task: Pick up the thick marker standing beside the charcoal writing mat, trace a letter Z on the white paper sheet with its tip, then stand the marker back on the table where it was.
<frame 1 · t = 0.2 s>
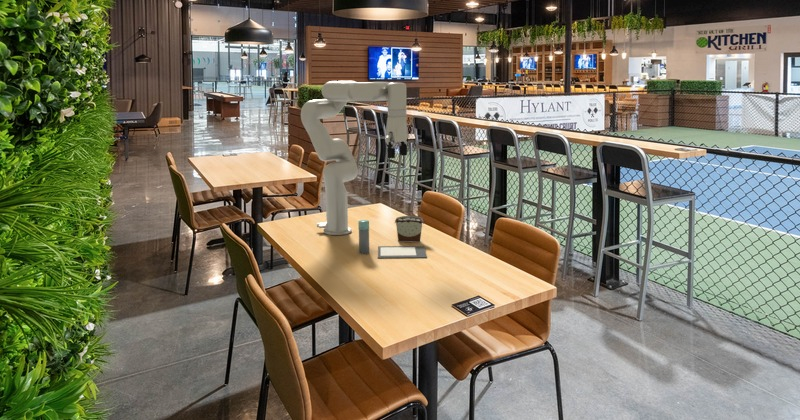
hand: (397, 156, 237), 37 cm above the table, tool pointing down, fingers open, 9 cm apart
writing mat: (401, 252, 232), on the table
food container: (409, 240, 250), on the table
marker: (364, 252, 232), on the table
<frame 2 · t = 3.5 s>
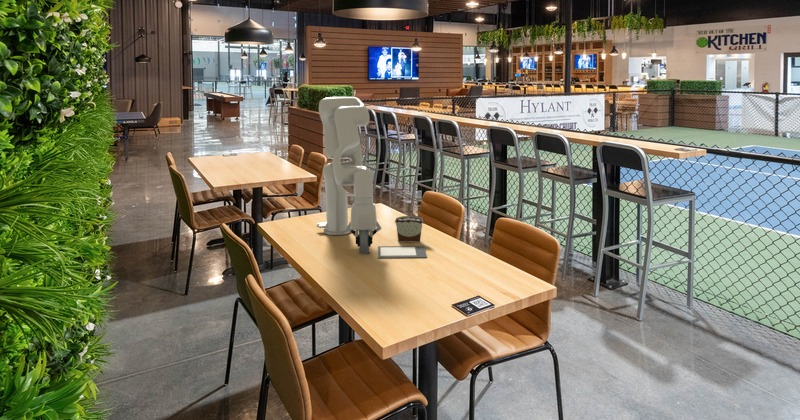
hand: (364, 245, 231), 3 cm above the table, tool pointing down, fingers closed on marker, 3 cm apart
marker: (364, 252, 232), on the table, touching gripper
everything else where it was.
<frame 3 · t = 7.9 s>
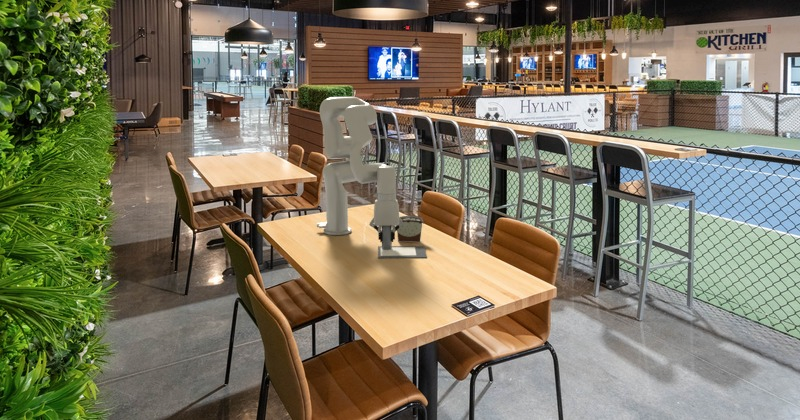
hand: (386, 240, 235), 4 cm above the table, tool pointing down, fingers closed on marker, 3 cm apart
marker: (386, 248, 236), point 1 cm above the table, touching gripper
everything else where it was.
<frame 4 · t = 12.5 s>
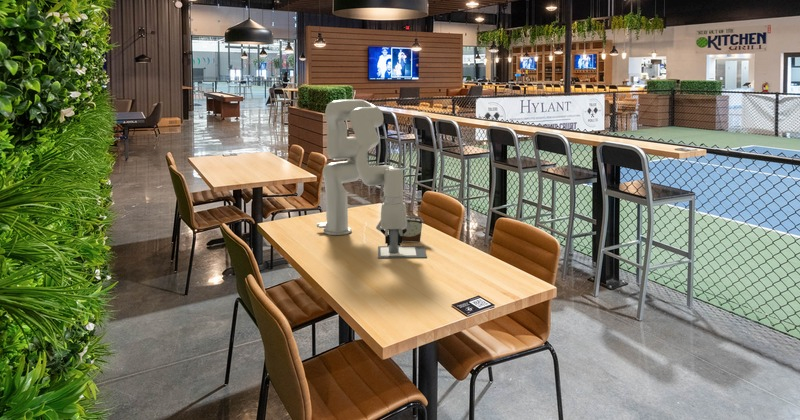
hand: (393, 244, 230), 4 cm above the table, tool pointing down, fingers closed on marker, 3 cm apart
marker: (393, 252, 231), point 1 cm above the table, touching gripper
everything else where it was.
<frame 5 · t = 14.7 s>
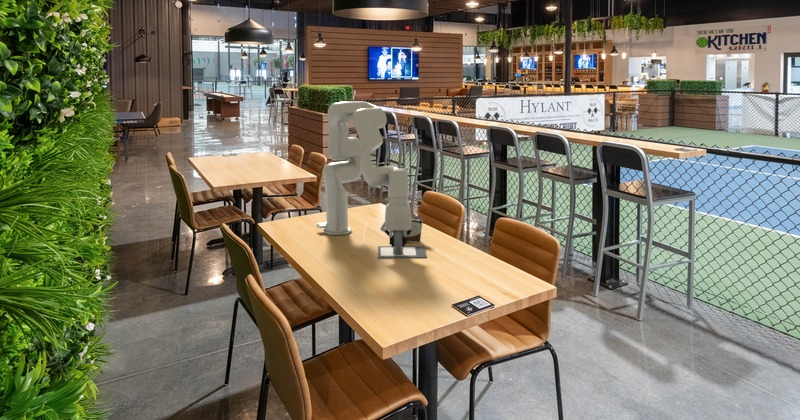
hand: (398, 245, 229), 4 cm above the table, tool pointing down, fingers closed on marker, 3 cm apart
marker: (398, 253, 229), point 1 cm above the table, touching gripper
everything else where it was.
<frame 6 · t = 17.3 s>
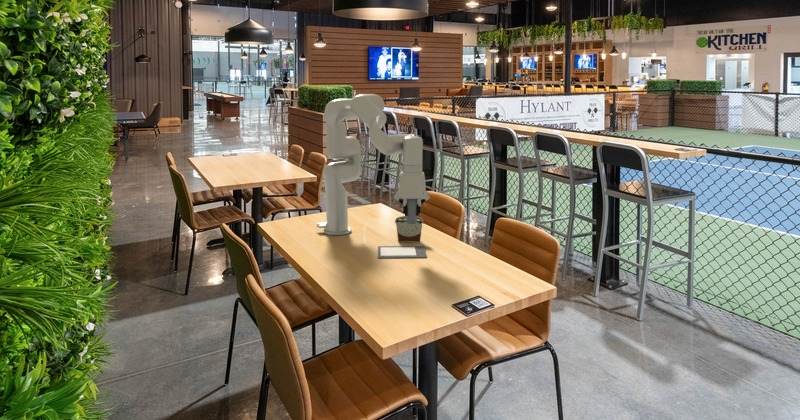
hand: (411, 214, 226), 16 cm above the table, tool pointing down, fingers closed on marker, 3 cm apart
marker: (411, 222, 227), point 13 cm above the table, touching gripper
everything else where it was.
when the fingers open (4 cm above the table, at t = 21.6 s): marker stays where it is, on the table.
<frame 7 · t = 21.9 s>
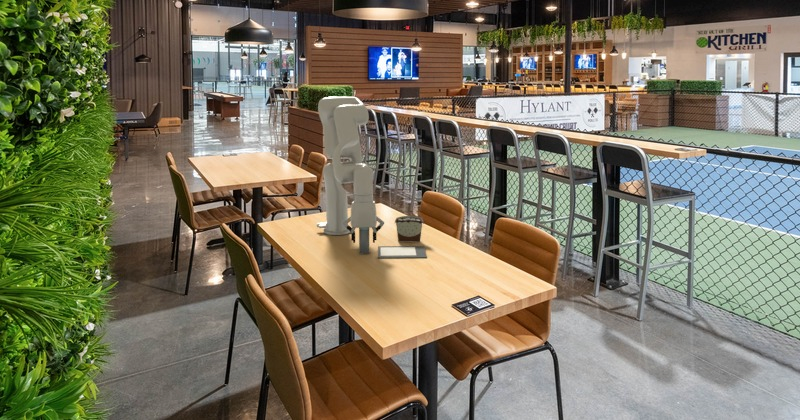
hand: (364, 241, 231), 5 cm above the table, tool pointing down, fingers open, 7 cm apart
marker: (364, 252, 232), on the table
everything else where it was.
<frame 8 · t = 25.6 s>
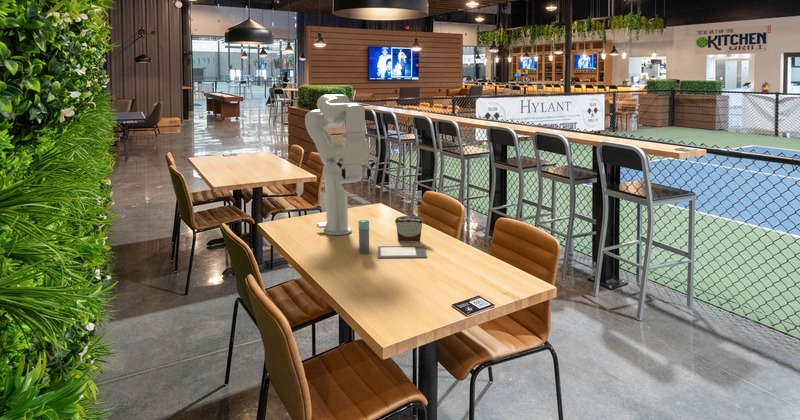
hand: (356, 178, 235), 28 cm above the table, tool pointing down, fingers open, 9 cm apart
nothing on the table moved.
at the end: marker inside the target area (0.1 cm from its centre), on the table; marker tilted 0°; the gripper is holding nothing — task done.
